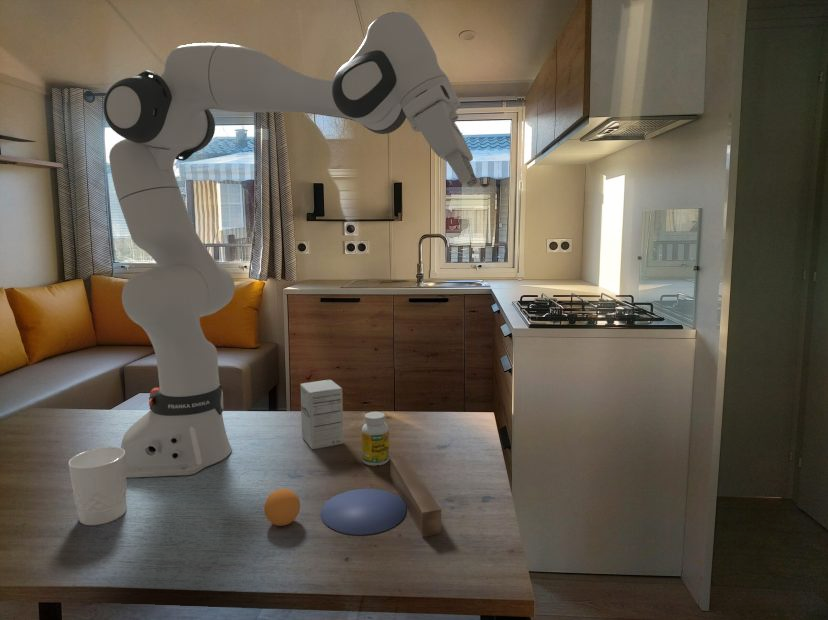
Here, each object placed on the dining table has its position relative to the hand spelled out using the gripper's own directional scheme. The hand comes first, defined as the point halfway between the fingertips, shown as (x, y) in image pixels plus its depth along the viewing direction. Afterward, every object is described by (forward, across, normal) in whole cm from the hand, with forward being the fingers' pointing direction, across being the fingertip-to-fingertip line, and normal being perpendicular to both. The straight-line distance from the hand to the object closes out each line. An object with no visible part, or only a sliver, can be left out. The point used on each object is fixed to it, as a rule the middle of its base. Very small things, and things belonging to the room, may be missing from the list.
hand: (470, 183), depth 89 cm
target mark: (+40, +13, -38) cm, 57 cm away
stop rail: (+43, +9, -32) cm, 55 cm away
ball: (+32, +19, -47) cm, 60 cm away
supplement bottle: (+38, -6, -42) cm, 57 cm away
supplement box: (+32, -13, -54) cm, 64 cm away
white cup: (+21, +24, -75) cm, 81 cm away
